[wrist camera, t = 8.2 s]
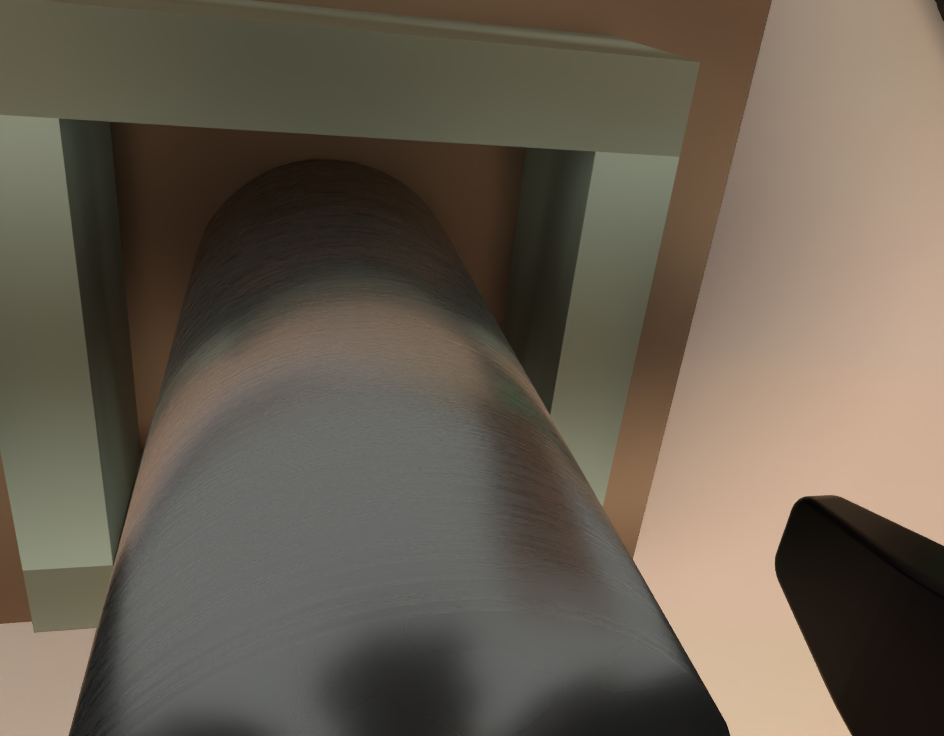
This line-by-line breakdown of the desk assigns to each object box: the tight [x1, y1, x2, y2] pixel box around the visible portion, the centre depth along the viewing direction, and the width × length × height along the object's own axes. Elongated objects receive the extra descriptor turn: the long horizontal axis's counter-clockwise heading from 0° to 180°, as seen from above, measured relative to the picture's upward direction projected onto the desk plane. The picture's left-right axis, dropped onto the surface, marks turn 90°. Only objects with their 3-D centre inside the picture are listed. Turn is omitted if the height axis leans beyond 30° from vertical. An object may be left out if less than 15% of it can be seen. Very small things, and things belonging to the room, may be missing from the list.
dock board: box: [0, 0, 772, 633], centre depth 13 cm, size 14×14×4 cm
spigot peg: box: [69, 159, 730, 736], centre depth 9 cm, size 4×4×10 cm
